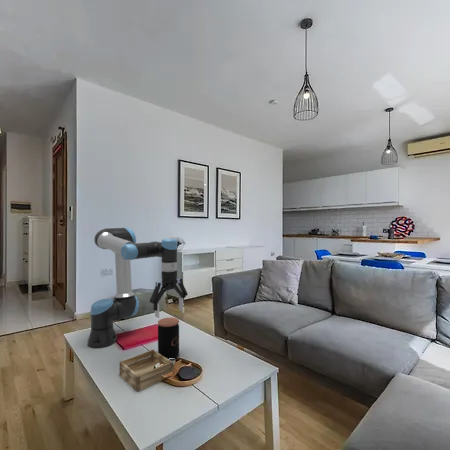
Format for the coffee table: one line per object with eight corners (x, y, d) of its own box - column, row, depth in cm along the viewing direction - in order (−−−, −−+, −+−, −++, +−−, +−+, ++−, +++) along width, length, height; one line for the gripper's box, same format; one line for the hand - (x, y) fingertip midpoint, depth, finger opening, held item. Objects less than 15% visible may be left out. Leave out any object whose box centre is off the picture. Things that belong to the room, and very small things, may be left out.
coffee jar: (174, 362, 136) (174, 325, 136) (154, 360, 138) (154, 324, 138) (182, 352, 146) (182, 318, 146) (163, 350, 149) (163, 316, 148)
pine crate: (119, 375, 125) (119, 361, 125) (153, 361, 137) (153, 349, 136) (137, 391, 113) (137, 377, 112) (172, 375, 125) (172, 362, 124)
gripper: (150, 275, 125) (150, 322, 125) (194, 268, 142) (194, 309, 142) (142, 272, 130) (142, 317, 131) (185, 266, 147) (185, 306, 148)
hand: (169, 313), depth 137 cm, fingers open, 13 cm apart
